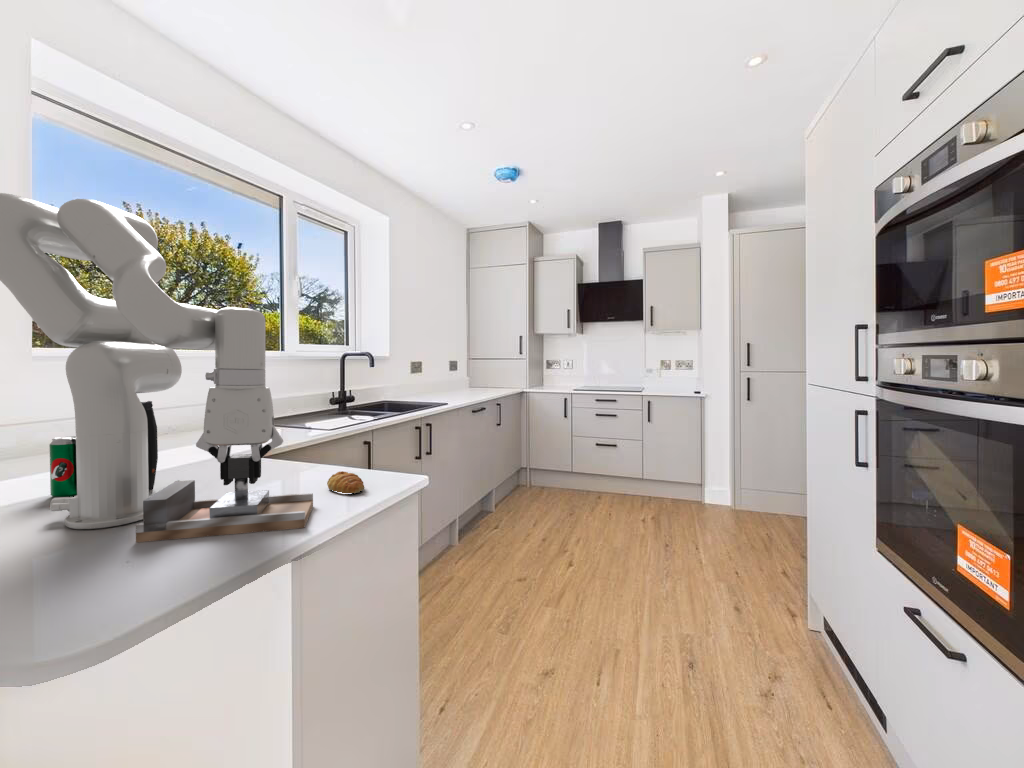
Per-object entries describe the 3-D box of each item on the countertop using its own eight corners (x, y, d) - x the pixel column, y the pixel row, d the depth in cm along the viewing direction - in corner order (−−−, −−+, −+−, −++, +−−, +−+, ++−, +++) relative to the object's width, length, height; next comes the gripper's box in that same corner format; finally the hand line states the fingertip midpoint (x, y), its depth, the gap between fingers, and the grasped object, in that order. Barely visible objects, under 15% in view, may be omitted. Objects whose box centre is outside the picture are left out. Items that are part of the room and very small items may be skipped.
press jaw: (209, 522, 73) (209, 462, 72) (226, 505, 81) (226, 451, 81) (257, 518, 75) (257, 460, 74) (269, 502, 84) (268, 450, 83)
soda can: (88, 494, 92) (87, 437, 92) (54, 500, 88) (53, 440, 87) (81, 490, 95) (79, 435, 94) (47, 496, 90) (46, 438, 90)
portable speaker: (167, 488, 98) (166, 400, 97) (123, 500, 88) (122, 404, 88) (135, 485, 99) (134, 399, 98) (88, 497, 90) (87, 402, 89)
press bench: (136, 542, 69) (135, 501, 68) (169, 516, 80) (168, 481, 80) (304, 527, 76) (304, 490, 76) (313, 506, 87) (313, 474, 87)
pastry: (372, 492, 98) (372, 475, 98) (343, 499, 93) (343, 481, 93) (351, 484, 104) (351, 468, 104) (323, 490, 99) (323, 473, 99)
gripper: (176, 379, 71) (177, 491, 72) (289, 380, 76) (288, 485, 77) (194, 378, 78) (194, 480, 79) (295, 379, 83) (295, 475, 84)
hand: (241, 481), depth 78 cm, fingers closed on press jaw, 3 cm apart
